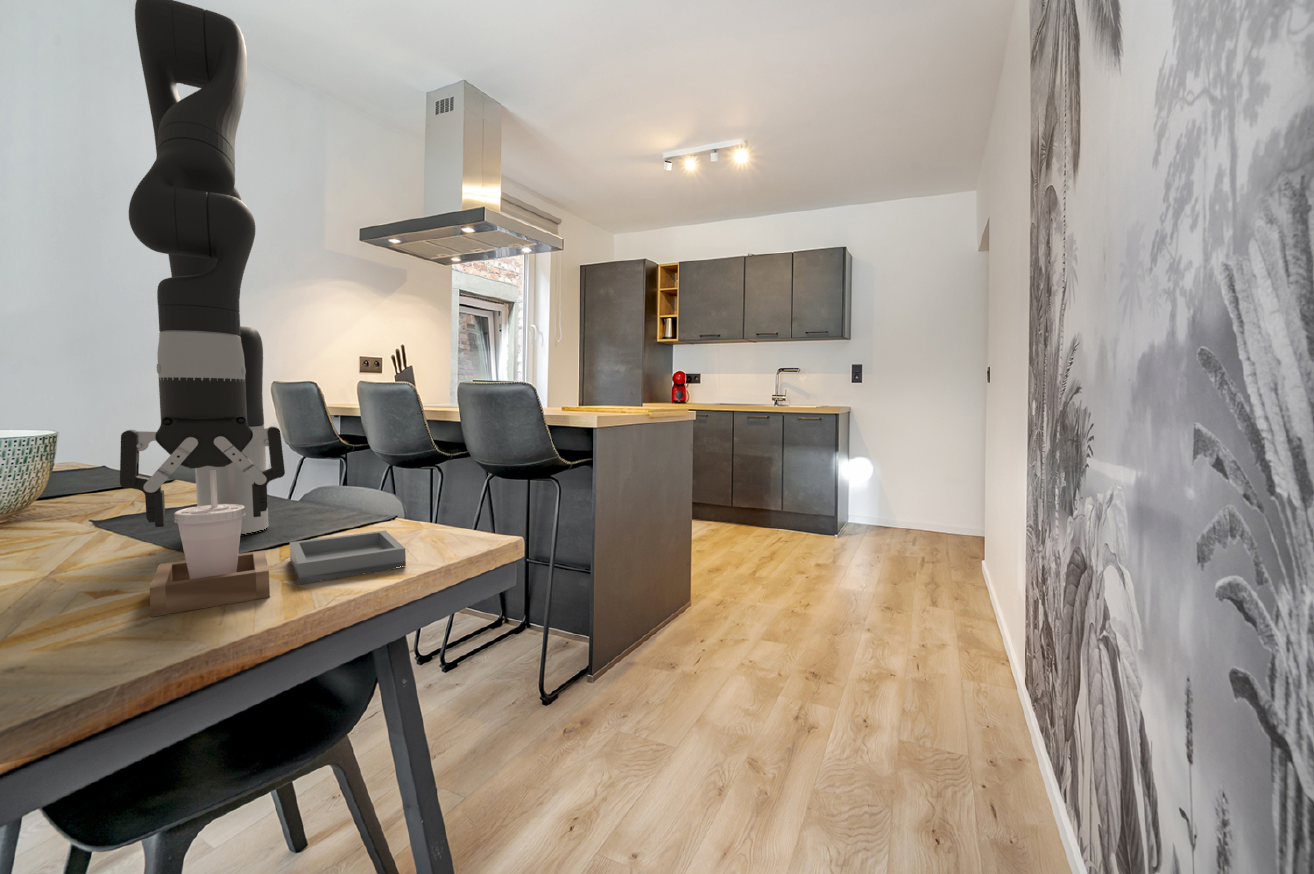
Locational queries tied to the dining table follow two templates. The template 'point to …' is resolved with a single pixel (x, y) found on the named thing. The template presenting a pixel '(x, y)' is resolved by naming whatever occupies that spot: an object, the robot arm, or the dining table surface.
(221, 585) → the holder
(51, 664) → the dining table surface
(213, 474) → the smoothie
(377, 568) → the tray
